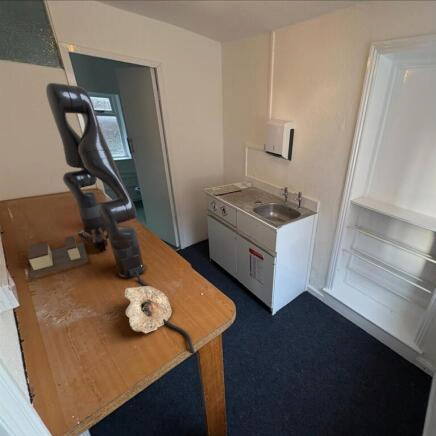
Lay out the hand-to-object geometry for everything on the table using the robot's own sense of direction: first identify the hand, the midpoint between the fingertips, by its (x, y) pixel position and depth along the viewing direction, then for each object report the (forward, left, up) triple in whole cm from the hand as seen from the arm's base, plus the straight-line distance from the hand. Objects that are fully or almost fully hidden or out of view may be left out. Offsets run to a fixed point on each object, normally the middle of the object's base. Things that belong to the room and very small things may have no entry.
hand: (101, 247), depth 111 cm
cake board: (+3, +15, -3) cm, 16 cm away
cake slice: (+4, +10, -1) cm, 11 cm away
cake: (+4, +20, -1) cm, 21 cm away
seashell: (-55, -6, -3) cm, 56 cm away
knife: (+6, 0, 0) cm, 6 cm away
